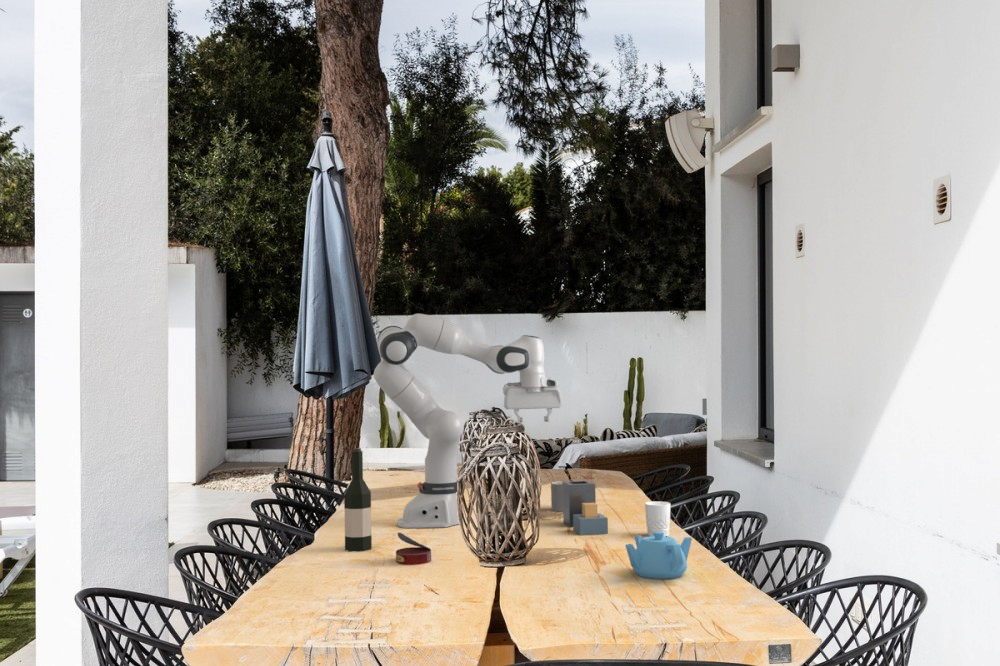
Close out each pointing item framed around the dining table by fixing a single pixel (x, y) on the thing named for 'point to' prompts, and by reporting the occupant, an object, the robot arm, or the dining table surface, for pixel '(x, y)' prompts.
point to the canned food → (412, 553)
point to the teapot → (659, 556)
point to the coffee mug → (557, 496)
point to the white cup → (657, 517)
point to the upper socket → (576, 498)
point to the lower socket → (590, 525)
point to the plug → (589, 510)
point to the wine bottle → (357, 508)
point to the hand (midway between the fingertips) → (533, 421)
